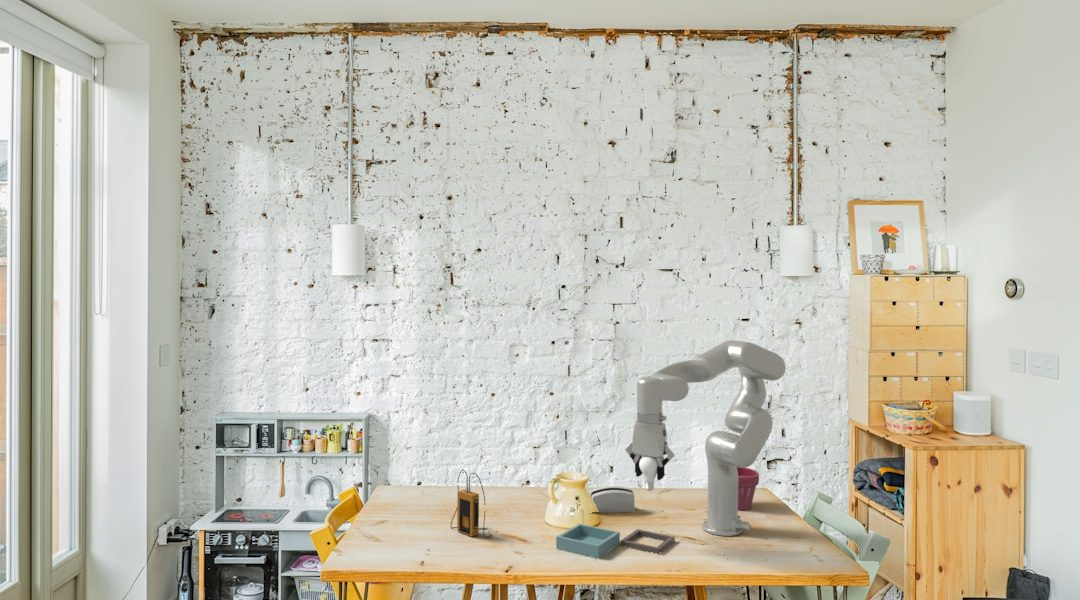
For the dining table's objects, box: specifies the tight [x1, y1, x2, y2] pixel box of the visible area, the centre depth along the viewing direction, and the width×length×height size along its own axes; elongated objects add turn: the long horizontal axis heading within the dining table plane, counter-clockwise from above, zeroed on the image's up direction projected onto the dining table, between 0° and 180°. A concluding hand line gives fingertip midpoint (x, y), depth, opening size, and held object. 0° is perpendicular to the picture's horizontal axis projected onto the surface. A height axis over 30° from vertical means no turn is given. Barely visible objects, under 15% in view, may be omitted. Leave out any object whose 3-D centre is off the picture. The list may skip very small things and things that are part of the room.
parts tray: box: [555, 523, 621, 559], centre depth 212 cm, size 14×14×4 cm
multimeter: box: [450, 469, 492, 538], centre depth 225 cm, size 15×10×20 cm
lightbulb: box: [639, 456, 659, 492], centre depth 215 cm, size 6×6×11 cm
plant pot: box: [737, 467, 760, 511], centre depth 253 cm, size 14×14×13 cm
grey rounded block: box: [589, 485, 636, 513], centre depth 246 cm, size 17×5×10 cm, turn 98°
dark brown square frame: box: [619, 528, 676, 555], centre depth 215 cm, size 12×12×2 cm
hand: (649, 476), depth 215 cm, fingers closed on lightbulb, 6 cm apart
